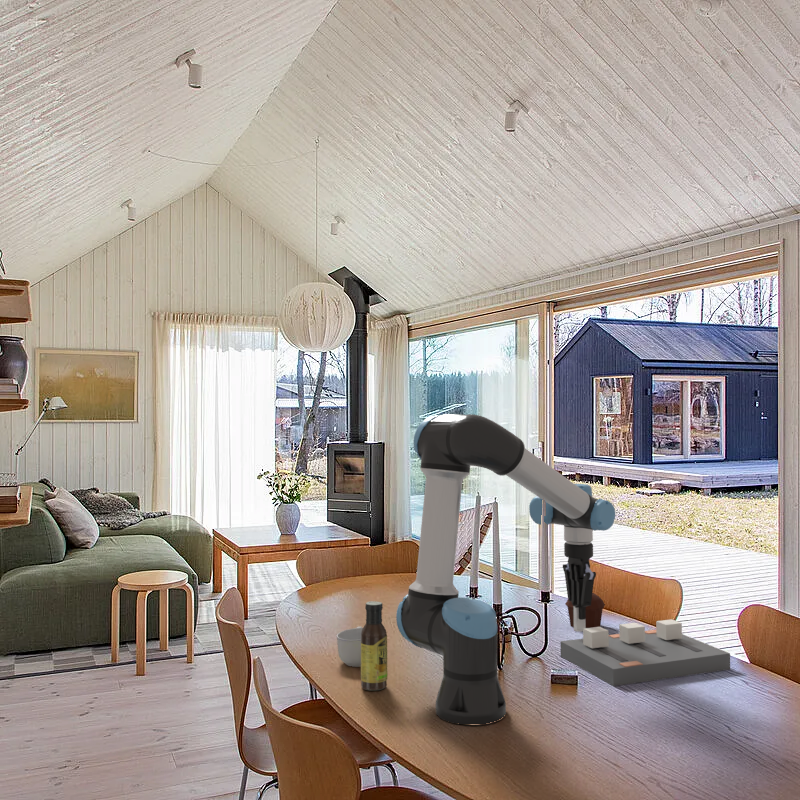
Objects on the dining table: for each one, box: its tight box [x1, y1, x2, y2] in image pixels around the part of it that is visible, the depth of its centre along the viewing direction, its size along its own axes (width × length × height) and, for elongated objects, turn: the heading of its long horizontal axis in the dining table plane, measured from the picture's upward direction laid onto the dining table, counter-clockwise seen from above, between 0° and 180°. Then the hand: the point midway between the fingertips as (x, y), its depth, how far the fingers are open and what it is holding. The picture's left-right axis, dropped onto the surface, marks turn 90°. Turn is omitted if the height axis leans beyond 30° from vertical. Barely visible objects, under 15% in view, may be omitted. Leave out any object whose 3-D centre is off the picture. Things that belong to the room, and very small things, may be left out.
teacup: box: [336, 626, 363, 668], centre depth 206 cm, size 14×11×8 cm
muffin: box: [565, 592, 606, 628], centre depth 237 cm, size 12×11×10 cm
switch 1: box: [582, 626, 610, 648], centre depth 203 cm, size 4×5×4 cm
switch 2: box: [655, 619, 683, 640], centre depth 209 cm, size 4×5×4 cm
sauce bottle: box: [360, 600, 388, 692], centre depth 186 cm, size 6×6×20 cm
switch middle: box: [618, 622, 646, 644], centre depth 206 cm, size 4×5×4 cm
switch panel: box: [559, 629, 731, 687], centre depth 202 cm, size 24×34×4 cm
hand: (579, 630), depth 210 cm, fingers closed
